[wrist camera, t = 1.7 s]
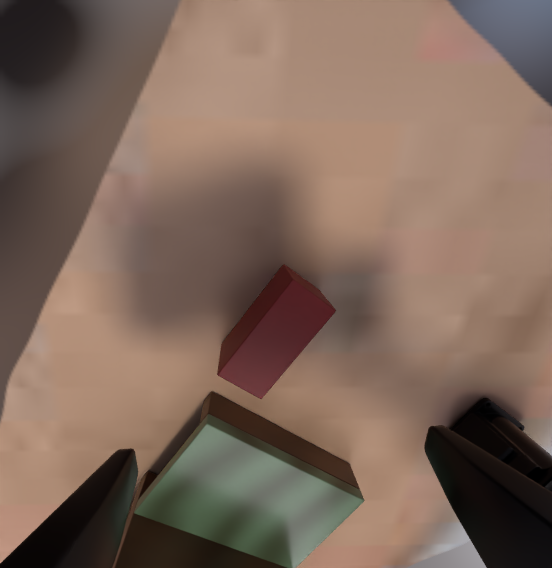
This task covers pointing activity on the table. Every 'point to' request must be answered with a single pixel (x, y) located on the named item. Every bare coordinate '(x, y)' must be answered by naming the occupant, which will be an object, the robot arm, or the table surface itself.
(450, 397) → the table surface
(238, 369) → the red rectangular block
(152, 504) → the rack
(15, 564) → the robot arm
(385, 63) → the table surface
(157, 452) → the table surface
